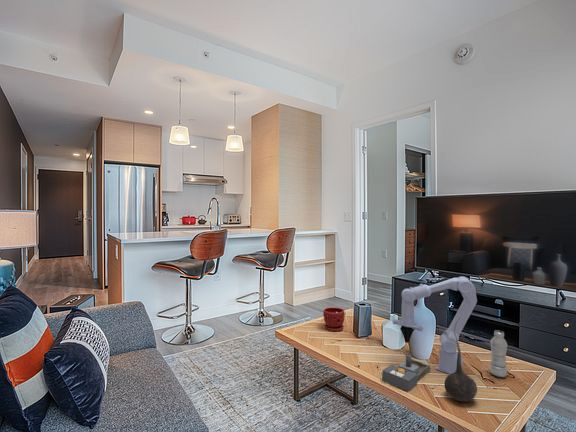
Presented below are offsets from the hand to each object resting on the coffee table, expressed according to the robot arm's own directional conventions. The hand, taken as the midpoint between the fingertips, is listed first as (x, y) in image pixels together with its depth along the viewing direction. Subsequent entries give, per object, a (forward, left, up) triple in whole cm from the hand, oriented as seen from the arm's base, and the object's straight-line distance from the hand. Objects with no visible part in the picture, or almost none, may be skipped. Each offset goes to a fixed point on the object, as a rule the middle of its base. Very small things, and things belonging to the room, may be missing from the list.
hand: (407, 342), depth 158 cm
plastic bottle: (-34, -19, -11) cm, 40 cm away
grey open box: (-6, +20, -10) cm, 23 cm away
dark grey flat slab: (-6, +7, -10) cm, 14 cm away
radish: (-28, +12, -11) cm, 32 cm away
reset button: (-6, +18, -9) cm, 21 cm away
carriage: (-6, +11, -9) cm, 15 cm away
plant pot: (+53, -11, -11) cm, 55 cm away
